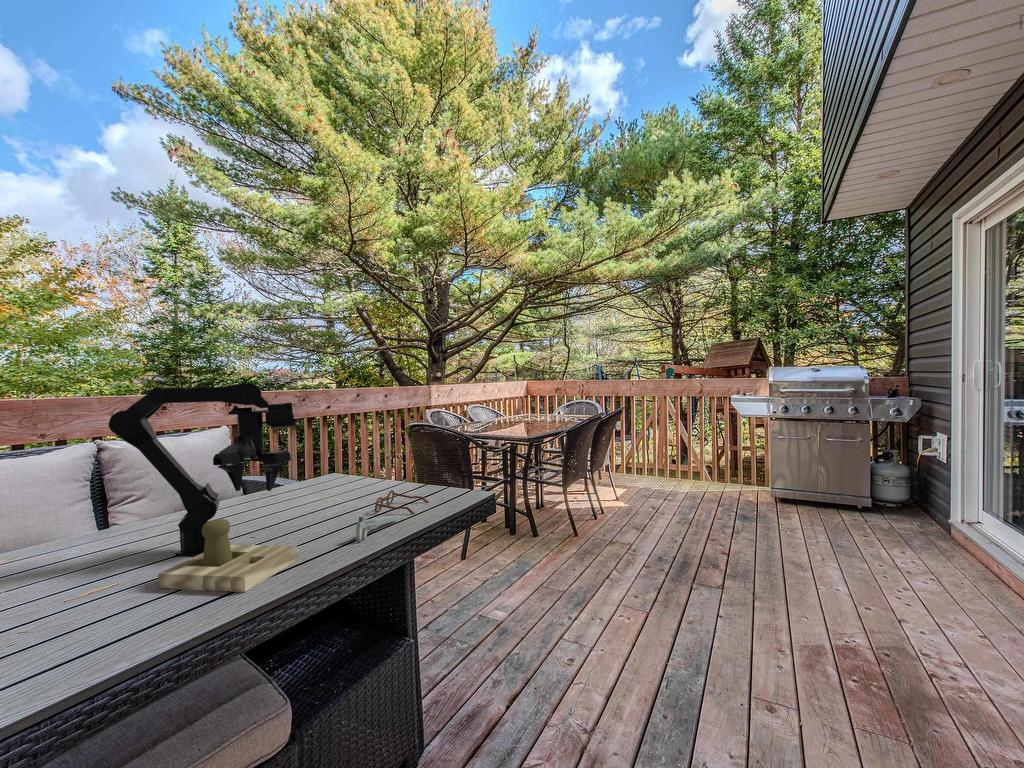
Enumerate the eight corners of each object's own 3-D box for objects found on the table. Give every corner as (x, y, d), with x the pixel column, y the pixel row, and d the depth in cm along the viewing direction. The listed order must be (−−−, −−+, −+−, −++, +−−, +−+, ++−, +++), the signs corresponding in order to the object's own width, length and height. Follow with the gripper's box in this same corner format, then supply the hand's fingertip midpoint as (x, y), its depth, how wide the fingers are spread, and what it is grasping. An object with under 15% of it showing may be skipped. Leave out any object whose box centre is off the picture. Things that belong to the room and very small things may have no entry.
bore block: (158, 588, 92) (157, 573, 92) (222, 557, 108) (221, 544, 108) (245, 592, 88) (244, 577, 88) (298, 559, 104) (297, 546, 104)
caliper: (360, 543, 113) (359, 518, 113) (356, 543, 114) (355, 518, 114) (402, 518, 133) (401, 497, 133) (399, 518, 133) (398, 497, 133)
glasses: (392, 503, 151) (391, 488, 151) (429, 503, 149) (429, 488, 149) (373, 515, 138) (373, 499, 138) (415, 516, 136) (414, 499, 136)
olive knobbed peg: (206, 568, 101) (203, 518, 100) (237, 563, 103) (234, 514, 103) (197, 579, 95) (194, 526, 95) (231, 573, 97) (228, 522, 97)
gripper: (192, 435, 112) (196, 498, 112) (259, 434, 109) (263, 499, 109) (228, 430, 123) (231, 487, 123) (290, 428, 120) (293, 487, 120)
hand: (253, 490), depth 118 cm, fingers open, 9 cm apart
